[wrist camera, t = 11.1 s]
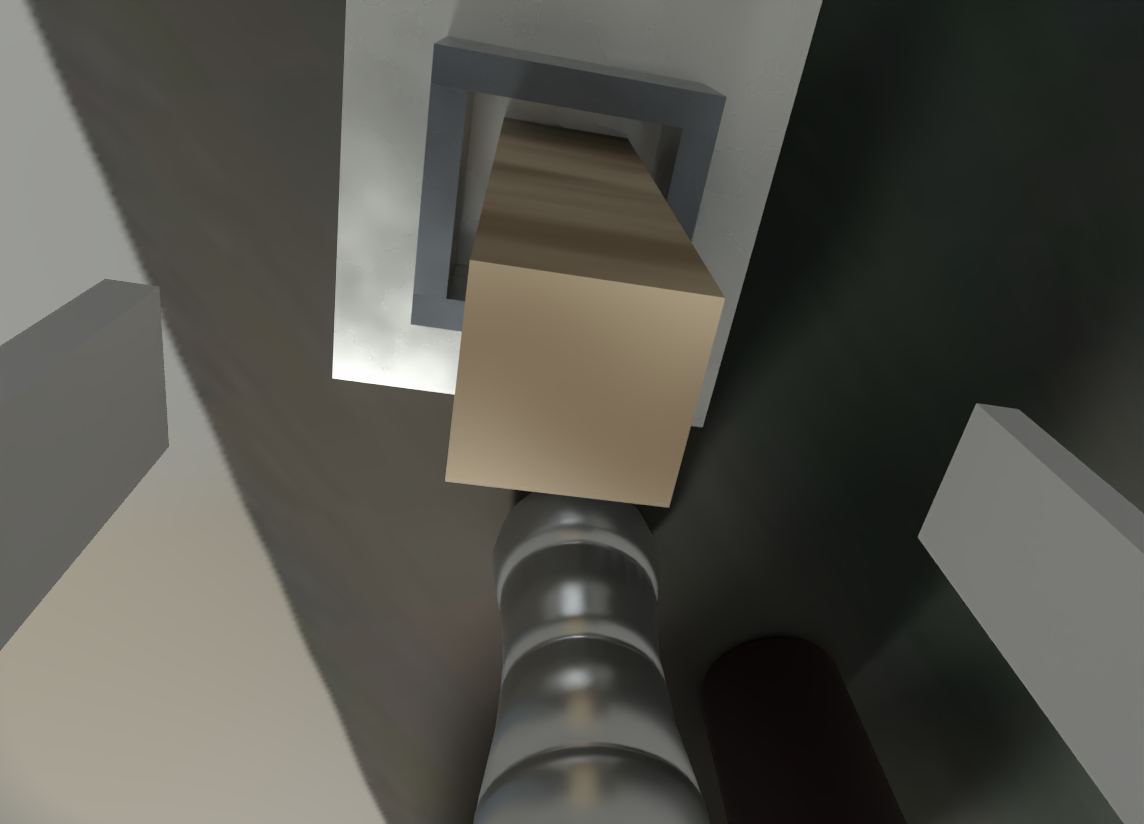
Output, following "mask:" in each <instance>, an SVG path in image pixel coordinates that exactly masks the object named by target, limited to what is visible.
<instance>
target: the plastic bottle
mask: <svg viewBox="0 0 1144 824" xmlns="http://www.w3.org/2000/svg"><path fill="white" fill-rule="evenodd" d="M492 568H493V577H494V586H495V592H496V597H497V602H498V606H499V610H500V615H501V635H502V655H503V671H502V678H501V689H500V695H499V703H498V711H497V719H496V727H495V732H494V736H493V740H492V745H491V749H490V753H489V757H488V761H487V765H486V770H485V774H484V778H483V782H482V786H481V791H480V795H479V799H478V806H477V809H476V811H475V816H474V823H473V824H711V823H710V819H709V815H708V811H707V808H706V805H705V802H704V799H703V796H702V795H701V792H700V789H699V786H698V783H697V781H696V778H695V775H694V772H693V770H692V767H691V764H690V761H689V758H688V756H687V753H686V750H685V747H684V745H683V742H682V739H681V736H680V734H679V731H678V728H677V725H676V721H675V717H674V712H673V708H672V704H671V700H670V696H669V692H668V689H667V686H666V683H665V676H664V672H663V668H662V664H661V660H660V650H659V635H658V620H657V603H658V596H659V588H660V581H659V553H658V549H657V546H656V543H655V540H654V538H653V536H652V534H651V532H650V530H649V528H648V526H647V524H646V522H645V520H644V519H643V517H642V515H641V514H640V512H639V511H638V510H637V509H636V508H635V507H634V505H633V504H632V503H625V502H616V501H608V500H599V499H591V498H582V497H574V496H565V495H557V494H548V493H540V492H532V493H531V494H529V495H528V496H526V497H525V498H523V499H522V500H520V501H519V502H518V503H517V504H516V505H515V506H514V507H513V508H512V509H511V511H510V512H509V514H508V515H507V517H506V519H505V520H504V522H503V525H502V528H501V530H500V533H499V536H498V539H497V542H496V545H495V547H494V550H493V560H492Z"/></svg>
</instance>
